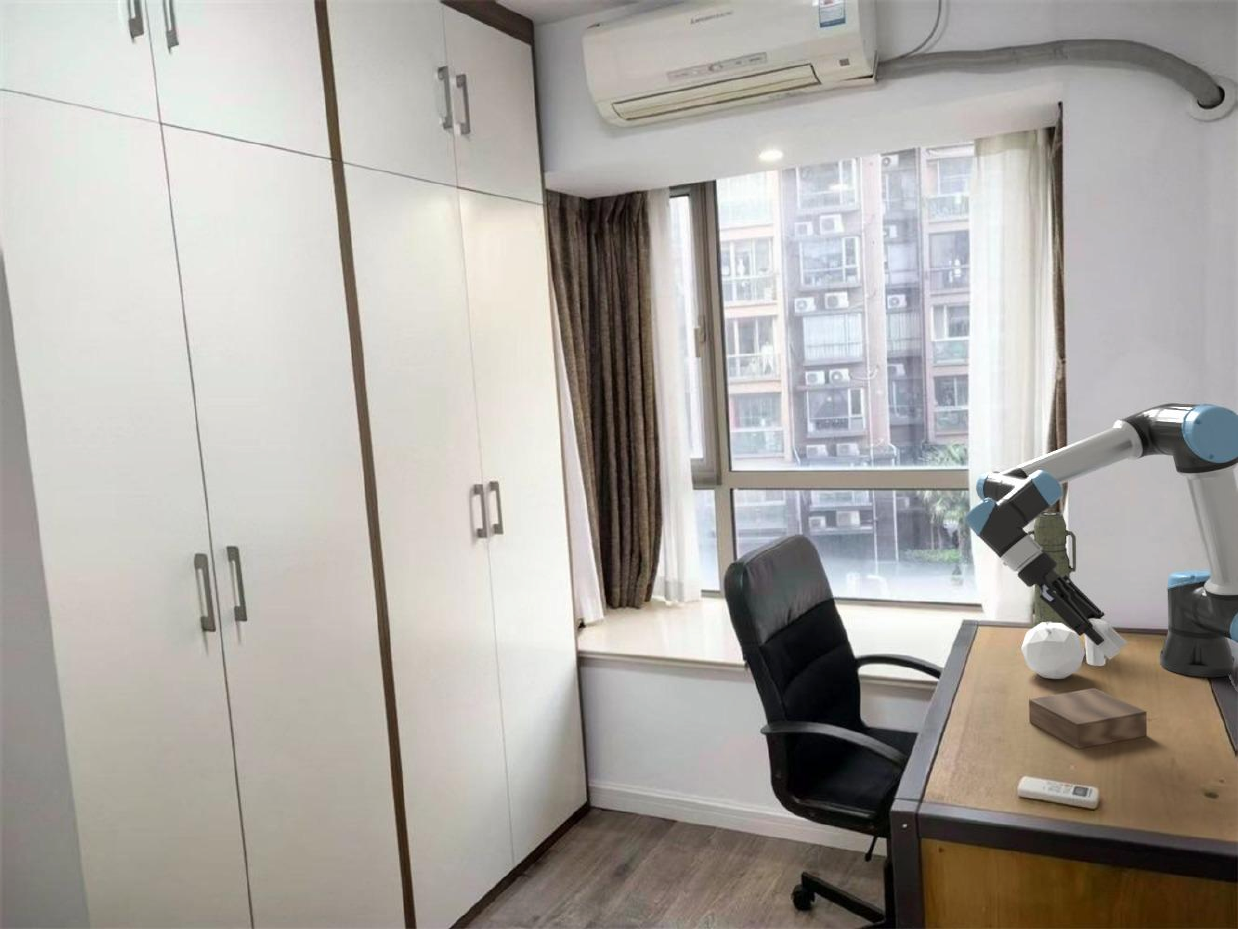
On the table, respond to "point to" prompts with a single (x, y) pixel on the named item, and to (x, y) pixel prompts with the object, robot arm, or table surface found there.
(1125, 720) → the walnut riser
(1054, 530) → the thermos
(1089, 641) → the milkshake
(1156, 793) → the table surface
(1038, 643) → the geodesic sphere
